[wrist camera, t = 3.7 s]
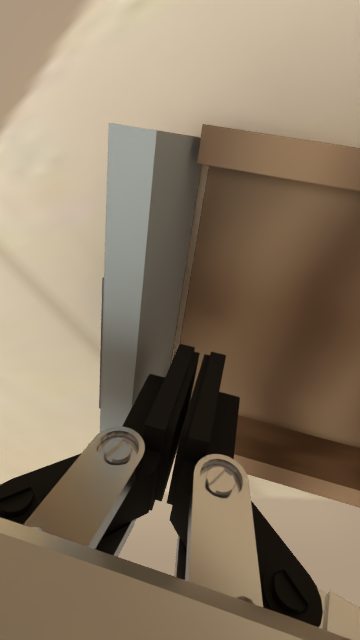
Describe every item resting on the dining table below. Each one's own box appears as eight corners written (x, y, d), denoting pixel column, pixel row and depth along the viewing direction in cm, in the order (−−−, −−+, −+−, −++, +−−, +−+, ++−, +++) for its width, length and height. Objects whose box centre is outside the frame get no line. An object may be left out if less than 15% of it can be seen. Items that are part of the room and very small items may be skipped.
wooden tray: (556, 183, 14) (736, 204, 8) (385, 447, 21) (422, 544, 16) (221, 131, 15) (197, 122, 10) (176, 391, 23) (149, 460, 18)
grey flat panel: (205, 138, 14) (156, 130, 8) (164, 407, 21) (122, 510, 15) (164, 131, 14) (85, 119, 8) (137, 399, 21) (85, 498, 15)
